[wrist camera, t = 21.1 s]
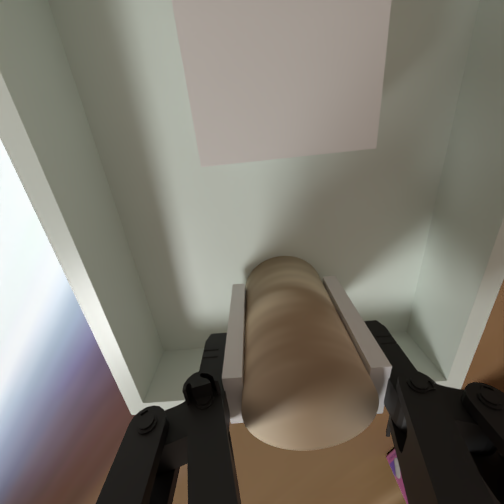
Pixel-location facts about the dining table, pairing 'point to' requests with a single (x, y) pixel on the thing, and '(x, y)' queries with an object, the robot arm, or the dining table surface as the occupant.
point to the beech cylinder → (300, 362)
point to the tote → (256, 186)
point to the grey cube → (282, 76)
